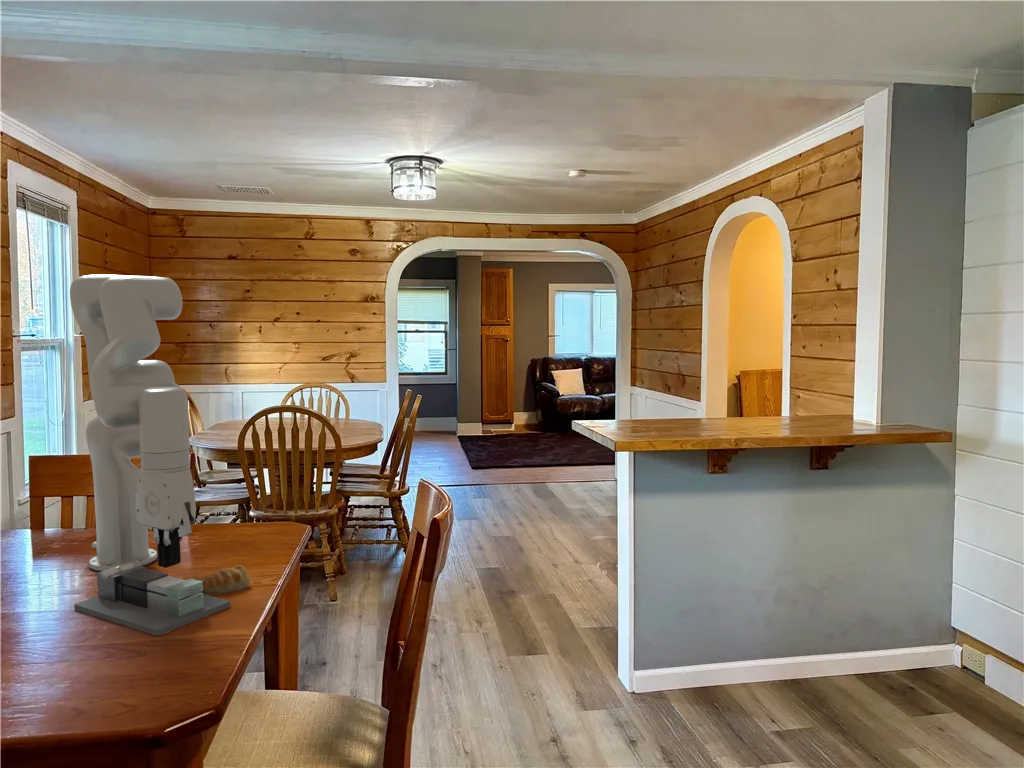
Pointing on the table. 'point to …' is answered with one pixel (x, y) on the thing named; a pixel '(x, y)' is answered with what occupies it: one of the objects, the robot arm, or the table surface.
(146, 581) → the bar
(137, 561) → the stand
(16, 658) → the table surface
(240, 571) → the pastry
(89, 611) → the slate mat
